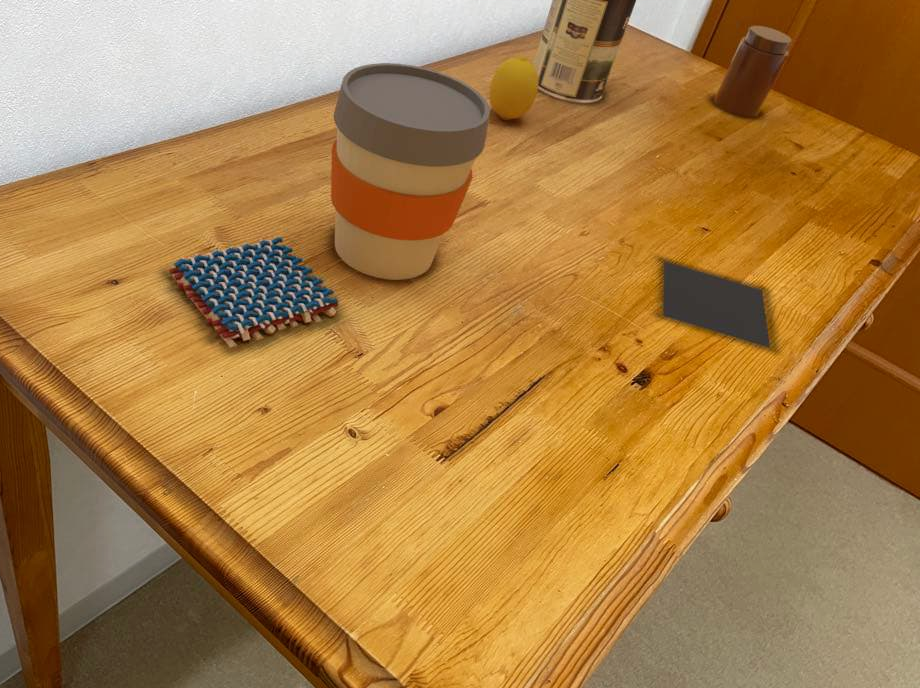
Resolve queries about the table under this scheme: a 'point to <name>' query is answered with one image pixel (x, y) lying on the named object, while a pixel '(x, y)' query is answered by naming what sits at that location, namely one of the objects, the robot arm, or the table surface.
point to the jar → (753, 71)
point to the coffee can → (580, 47)
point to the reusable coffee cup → (401, 164)
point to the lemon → (514, 88)
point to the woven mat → (253, 289)
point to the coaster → (714, 304)
